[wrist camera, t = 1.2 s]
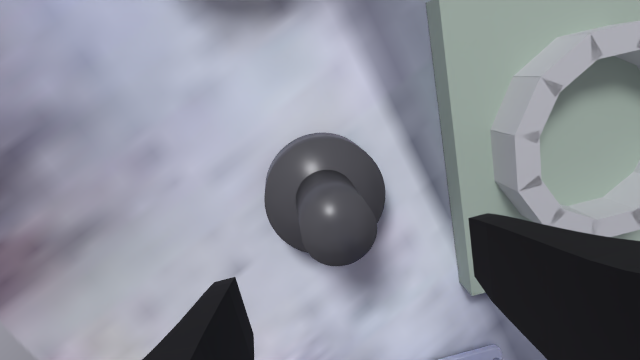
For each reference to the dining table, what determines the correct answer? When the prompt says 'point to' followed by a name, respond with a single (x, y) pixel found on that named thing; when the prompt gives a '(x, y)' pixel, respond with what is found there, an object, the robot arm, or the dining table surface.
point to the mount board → (571, 124)
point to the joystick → (325, 198)
